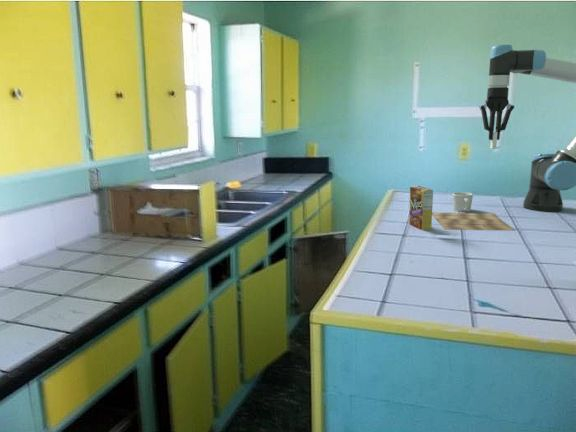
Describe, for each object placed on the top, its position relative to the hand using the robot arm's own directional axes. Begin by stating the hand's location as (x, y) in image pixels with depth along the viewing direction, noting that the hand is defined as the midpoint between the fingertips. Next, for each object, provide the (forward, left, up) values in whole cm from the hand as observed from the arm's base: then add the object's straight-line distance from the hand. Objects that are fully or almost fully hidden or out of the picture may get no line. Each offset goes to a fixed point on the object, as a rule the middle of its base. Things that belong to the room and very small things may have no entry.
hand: (493, 148), depth 199 cm
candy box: (+32, +30, -27) cm, 51 cm away
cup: (+10, +1, -27) cm, 29 cm away
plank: (+12, +13, -26) cm, 31 cm away
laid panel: (+12, +25, -26) cm, 38 cm away
